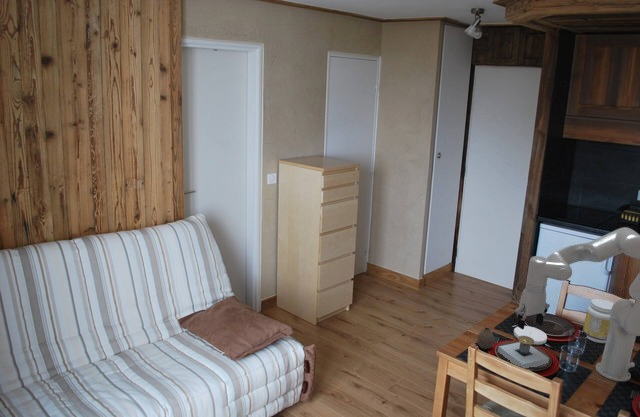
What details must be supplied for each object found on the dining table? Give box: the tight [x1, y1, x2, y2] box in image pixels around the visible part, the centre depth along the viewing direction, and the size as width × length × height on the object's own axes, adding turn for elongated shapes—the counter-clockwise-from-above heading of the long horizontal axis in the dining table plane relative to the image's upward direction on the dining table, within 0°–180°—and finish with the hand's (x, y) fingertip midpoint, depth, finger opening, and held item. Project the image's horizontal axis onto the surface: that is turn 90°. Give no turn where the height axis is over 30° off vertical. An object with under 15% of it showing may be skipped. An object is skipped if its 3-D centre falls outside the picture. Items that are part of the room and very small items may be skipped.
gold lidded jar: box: [517, 336, 534, 357], centre depth 222 cm, size 6×6×9 cm
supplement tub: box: [582, 298, 615, 344], centre depth 245 cm, size 12×12×17 cm
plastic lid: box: [513, 325, 548, 346], centre depth 243 cm, size 14×14×2 cm
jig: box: [497, 341, 550, 368], centre depth 223 cm, size 14×14×4 cm
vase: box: [476, 327, 495, 350], centre depth 231 cm, size 7×7×9 cm
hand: (529, 325), depth 219 cm, fingers open, 9 cm apart
